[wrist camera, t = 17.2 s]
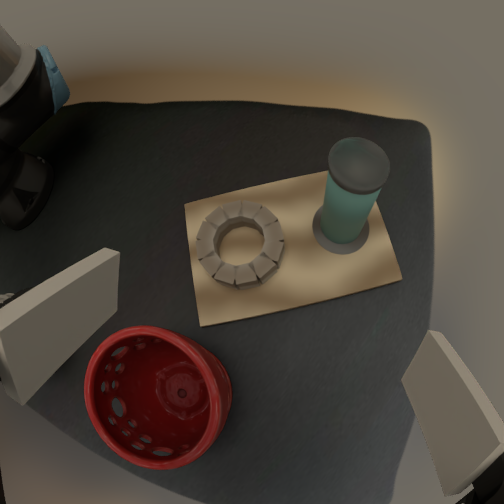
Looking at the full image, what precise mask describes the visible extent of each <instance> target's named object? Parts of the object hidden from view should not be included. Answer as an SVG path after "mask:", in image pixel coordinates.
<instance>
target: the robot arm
mask: <svg viewBox="0 0 504 504" xmlns="http://www.w3.org/2000/svg"><path fill="white" fill-rule="evenodd" d="M69 96H70V91H69V88H68V86H67V84H66V82H65V80H64V79H63V77H62V75H61V73H60V71H59V69H58V67H57V65H56V63H55V62H54V59H53V57H52V56H51V54H50V52H49V50H48V48H47V47H46V46H45V45H43V46H41V47H38V48H37V49H35V48H34V47H33V46H32V45H30V44H21V45H17V44H16V42H15V41H14V40H13V39H12V38H11V37H10V35H9V34H8V33H7V32H6V31H5V30H4V29H3V28H2V26H1V25H0V218H1V220H2V222H3V223H4V224H5V225H7V226H8V227H10V228H12V229H14V230H20V229H22V228H24V227H26V226H27V225H29V224H30V223H31V222H32V221H33V220H34V219H35V218H36V217H37V215H38V214H39V213H40V211H41V210H42V208H43V207H44V205H45V203H46V201H47V199H48V197H49V195H50V192H51V189H52V185H53V180H54V171H53V168H52V166H51V165H50V164H49V163H48V162H47V161H46V160H45V159H43V158H41V157H37V156H34V155H32V154H29V153H26V152H23V151H21V150H20V149H19V148H18V147H20V145H21V144H22V143H23V142H24V141H25V140H26V139H28V138H29V137H30V136H31V135H32V134H33V133H34V132H35V131H36V130H37V129H38V128H39V127H40V126H41V125H42V124H43V123H45V122H46V121H47V120H48V119H49V118H50V117H51V116H53V115H54V114H55V113H56V112H57V110H58V109H59V108H60V107H62V106H63V105H64V104H65V103H66V101H67V100H68V99H69ZM119 259H120V252H117V251H114V250H111V249H108V248H103V249H101V250H99V251H98V252H96V253H94V254H92V255H90V256H88V257H87V258H85V259H83V260H81V261H79V262H77V263H76V264H74V265H72V266H70V267H69V268H67V269H65V270H63V271H62V272H60V273H58V274H56V275H55V276H53V277H51V278H49V279H48V280H46V281H44V282H43V283H41V284H39V285H38V286H36V287H31V288H27V289H24V290H21V291H19V292H18V293H16V294H14V295H13V296H11V298H8V299H6V300H4V301H3V303H0V381H1V382H2V384H3V387H4V390H5V392H6V394H7V395H8V396H9V397H11V398H12V399H13V400H15V401H16V402H18V403H19V404H20V405H22V406H23V405H24V404H25V403H26V402H27V401H28V400H29V399H30V398H31V397H32V396H33V395H34V393H35V392H36V391H37V390H38V389H39V388H40V387H41V386H42V385H43V384H44V383H45V382H46V381H47V380H48V379H49V378H50V377H51V376H52V375H53V374H54V373H55V371H56V370H57V369H58V368H59V367H60V366H61V365H62V364H63V363H64V362H65V361H66V360H67V359H68V358H69V357H70V356H71V355H72V354H73V353H74V352H75V351H76V350H77V349H78V348H79V347H80V346H81V345H82V344H83V343H84V342H85V341H86V340H87V339H88V338H89V337H90V336H91V335H92V334H93V333H94V332H95V331H96V330H97V329H99V328H100V327H101V326H102V325H103V324H104V323H105V322H106V321H107V320H108V319H109V318H110V317H111V316H112V315H113V314H114V313H115V312H116V311H117V296H118V275H119ZM401 381H402V384H403V386H404V388H405V391H406V393H407V395H408V398H409V400H410V403H411V405H412V407H413V410H414V412H415V415H416V417H417V420H418V422H419V425H420V427H421V430H422V433H423V435H424V438H425V440H426V443H427V446H428V448H429V451H430V454H431V457H432V460H433V463H434V465H435V468H436V471H437V474H438V477H439V480H440V483H441V486H442V489H443V493H444V496H450V495H454V494H459V493H461V492H462V491H463V490H464V489H466V488H467V487H468V486H469V485H470V484H471V483H472V484H473V487H474V489H473V490H472V491H470V492H469V493H468V494H467V495H466V496H464V497H463V498H462V499H461V500H460V501H458V502H457V503H456V504H462V503H464V504H504V422H503V421H502V420H501V417H500V416H499V414H498V413H497V411H496V410H495V408H494V406H493V405H492V403H491V402H490V400H489V399H488V397H487V396H486V394H485V393H484V391H483V390H482V389H481V387H480V385H479V384H478V383H477V381H476V380H475V378H474V377H473V375H472V374H471V373H470V371H469V370H468V368H467V367H466V365H465V364H464V363H463V361H462V360H461V359H460V357H459V356H458V354H457V353H456V352H455V350H454V349H453V348H452V346H451V345H450V344H449V342H448V341H447V340H446V339H445V337H444V336H443V335H442V333H441V332H436V331H431V330H428V331H427V333H426V335H425V337H424V339H423V341H422V343H421V345H420V347H419V349H418V350H417V352H416V354H415V356H414V358H413V360H412V361H411V363H410V365H409V367H408V368H407V370H406V372H405V373H404V375H403V377H402V378H401ZM0 504H6V501H5V497H4V490H3V484H2V477H1V469H0Z"/></svg>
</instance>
